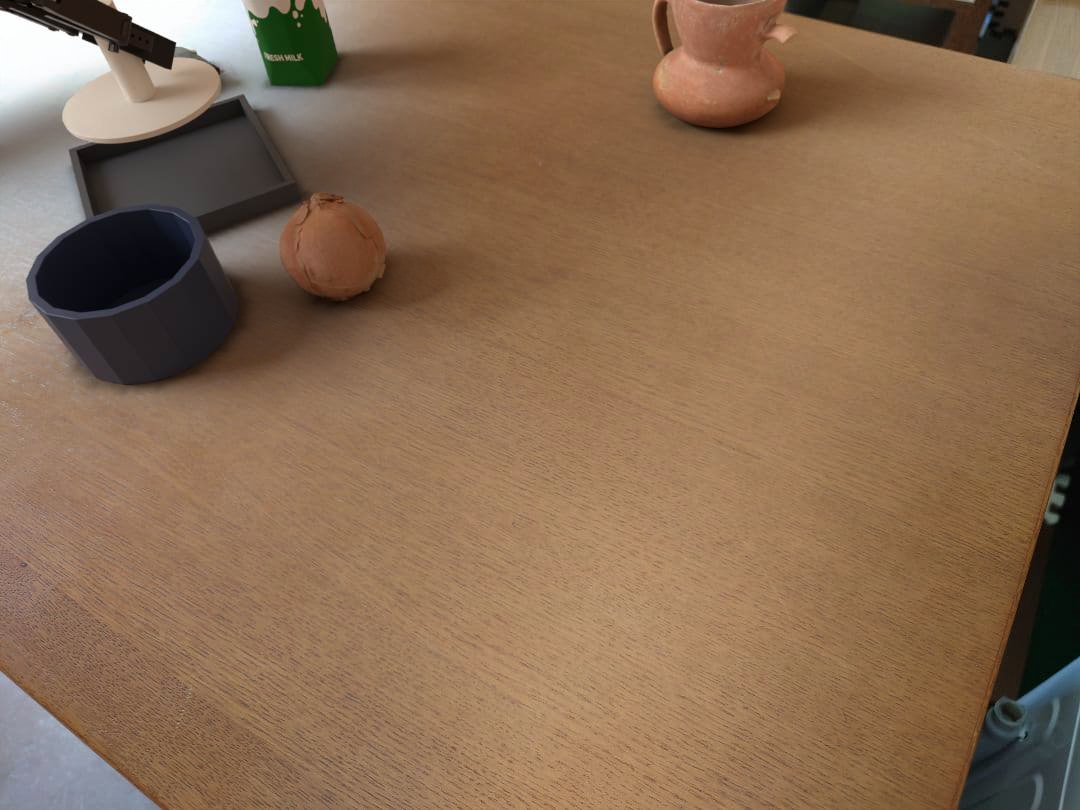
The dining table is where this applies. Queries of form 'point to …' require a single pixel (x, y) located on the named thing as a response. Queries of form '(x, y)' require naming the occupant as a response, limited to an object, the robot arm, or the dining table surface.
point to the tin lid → (139, 97)
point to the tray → (190, 169)
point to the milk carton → (293, 40)
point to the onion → (332, 248)
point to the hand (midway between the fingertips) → (157, 52)
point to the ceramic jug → (719, 60)
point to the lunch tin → (134, 293)
